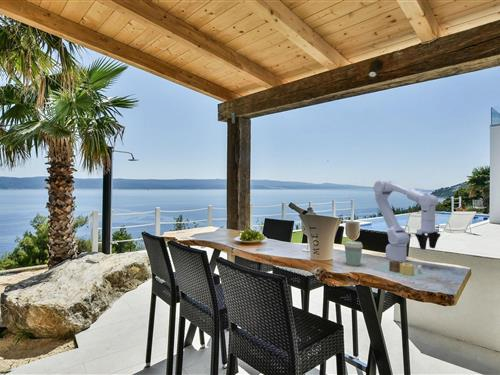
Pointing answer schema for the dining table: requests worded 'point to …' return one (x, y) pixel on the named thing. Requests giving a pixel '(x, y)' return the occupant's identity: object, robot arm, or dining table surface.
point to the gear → (394, 266)
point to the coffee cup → (353, 252)
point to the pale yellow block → (407, 269)
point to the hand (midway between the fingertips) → (427, 248)
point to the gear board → (416, 275)
